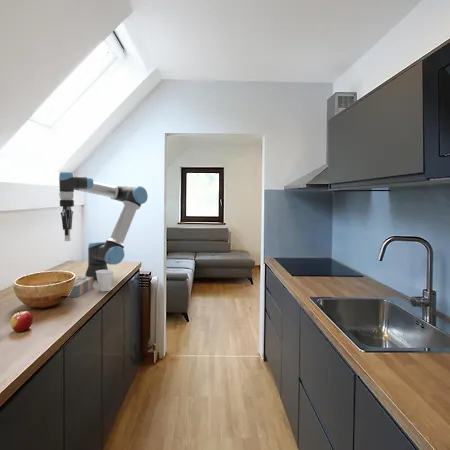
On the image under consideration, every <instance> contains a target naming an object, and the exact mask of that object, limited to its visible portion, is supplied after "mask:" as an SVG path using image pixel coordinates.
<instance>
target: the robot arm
mask: <svg viewBox="0 0 450 450" xmlns="http://www.w3.org/2000/svg"><path fill="white" fill-rule="evenodd" d="M58 182H59V193H58V196H59V199H60V200H59V207H62V210H61V212H60V217H61V223H62V230H64V242H71V230H73V215H74V211H72V207H75V200H74V199H75V192H74V191H78V192H84V193H89V194H93V195H97V196H103V197H106V198H110V199H111V200H114V201H117V202H121V203H123V206H122V209H121V212H120V214H119V216H118V218H117V222H116V223H115V226H114V228H113V230H112V232H111V236H110V237H109V239H108V238H107V239H106V241H101V242H100V241H99V242H98V241H97V242H90V243H88V248H87V250H88V251H87V252H88V253H87V254H88V256H87V257H88V260H87V261H88V263H87V264H88V265H87V268H86V271H85V275H84V277H93V280H97V275H96V271H98V270H109V268H108V265H113V266H115V265H118V264H120V263H121V262H123V260H124V257H125V250H124V248H125V245H124V242H125V239H126V237H127V234H128V232H129V230H130V227H131V224H132V222H133V219H134V218H135V214H136V212H137V210H140V208H141V207H142V205H143V204H145V203H146V202H147V201H148V197H149V195H148V191H147V190H146V188H145V187H144V186H142V185H115V184H114V185H109V184H105V183H101V182H96V181H94V179H93V177H91V176H88V175H85V176H84V175H75V174H74V172H72V171H61V172H59V175H58Z"/></svg>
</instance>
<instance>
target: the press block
mask: <svg viewBox="0 0 450 450" xmlns="http://www.w3.org/2000/svg"><path fill="white" fill-rule="evenodd" d="M75 278H76V280H75V282H77V284H74V287H73V289H72V291H71V293H70V295H69V296H68V297H67V298H78V297H80V296H82V295H83V294H85V293H86V292H88V291H90V290H91V289H92V288H94V279H93V277H85V276H76V277H75ZM78 278H85V280H78Z"/></svg>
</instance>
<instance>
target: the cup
mask: <svg viewBox="0 0 450 450" xmlns="http://www.w3.org/2000/svg"><path fill="white" fill-rule="evenodd" d="M114 272H115V270H112V269H108V270H98V271H96V275H97V279H96V280H97V287H98V288H97V289H98V291H99V292H101V293H102V292H104V293H105V291H107V292H110V291H111V288H112V281H113V278H114V277H113V276H114Z"/></svg>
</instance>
